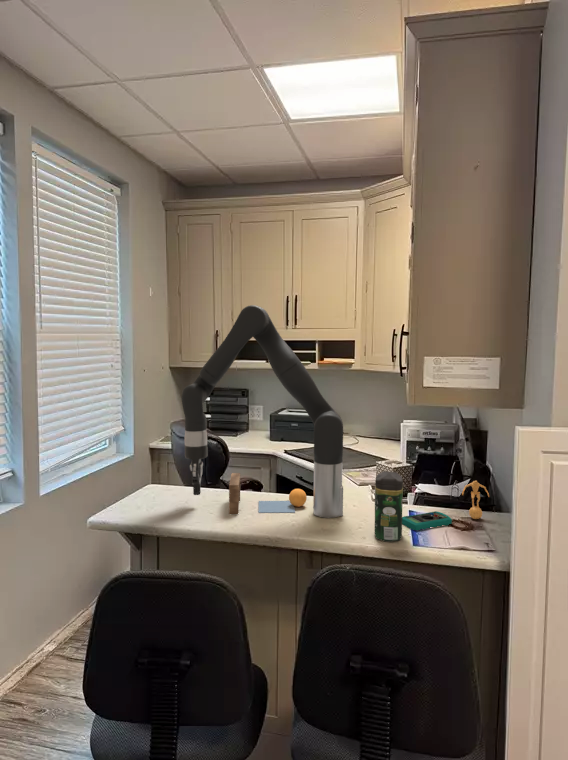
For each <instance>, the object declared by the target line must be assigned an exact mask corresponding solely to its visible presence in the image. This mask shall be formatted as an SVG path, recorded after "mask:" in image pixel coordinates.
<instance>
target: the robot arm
mask: <svg viewBox="0 0 568 760" xmlns="http://www.w3.org/2000/svg"><path fill="white" fill-rule="evenodd" d="M252 338H253V339H254V340H255V341H256V342H257V344H259V346H260V347H261V349H262V350H263V353H264V354H265V356H266V358H267V360H268V364H269V365H270V367H271V369H272V371H273V372H274V374H275V376H276V377H277V379H278V380H279V382H280V383H281V385H282V386H283V387H284V389H285V390H286V391H287V392H288V394H290V395H291V396H292V398H293V399H294V400H296V401H297V403H299V405H301V407H303V408H302V409H303V410H305V412H306V414H307V415H308V417H309V418H310V421H311V422H312V424H313V425H314V426H313V504H312V505H313V507H312V508H313V515H315V516H316V517H320V518H329V519H333V518H338V517H343V516H344V486H343V456H344V454H343V453H344V423H343V422H344V421H343V419H342V417H341V416H340V415H339V414H338V413H337V412H336V411H335V409H334V408H332V406H331V405H330V404H329V402H328V401H327V400H326V399H325V398H324V397H323V395H322V393H321V392H320V390H319V388H318V386H317V384H316V382H315V381H314V379H313V378H312V376H311V374H310V373H309V371H308V370H307V369H306V367H305V365H304V364H303V362H302V361H301V360H300V359H299V357H298V356H297V354H295V352H294V351H293V349H292V348H291V347H290V346H289V345H288V344H287V342H286V341H285V340H284V339H283V338H282V336H281V335H280V333H279V332H278V330H277V328H276V327H275V325H274V322H273V321H272V319H271V317H270V316H269V314H268V312H267V311H266V310H265V308H263V307H262V306H258V305H253V304H251V305H248V306H245V307H243V308H242V309H241V311H240V313H239V314H238V315H237V319H236V320H235V322H234V324H233V325H232V328H231V329H230V331H229V332H228V334H227V335H226V337H225V339H224V340H223V341H222V342H221V344H220V345H219V346H218V347H217V349H216V350H215V351H214V352H213V354H211V356H210V357H209V359H207V361H206V362H205V364H204V365H203V367H202V368H201V369H200V371H199V375H198V377H197V378H196V379H195V380H194V382H193V383H192V384H188V385H186V386H185V387H184V388H183V390H182V391H181V392H182V393H181V405H182V411H183V414H184V457H185V459H187V460H191V462H190V464H189V470H190V471H189V473H190V480H191V485H192V489H193V491H192V493H193V496H200V495H201V482H202V475H203V468H204V467H203V466H204V462H203V461H202V459H206V458H207V457H208V433H207V415H206V413H204V406H203V403H205V401H207V399H208V398H209V397H210V395H211V394H212V392H213V390H214V388H216V385H217V384H218V383H219V382H220V380H221V379H222V378H223V377H224V376H225V375H226V373H227V372H228V370H229V369H230V368H231V366H232V365H233V364H234V361H235V360H236V358H237V356H238V354H239V353H240V352H241V351H242V349H243V348H244V347H245V345H246V344H247V343H248V342H249V341H250V340H251V339H252Z"/></svg>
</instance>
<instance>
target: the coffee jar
mask: <svg viewBox="0 0 568 760" xmlns="http://www.w3.org/2000/svg"><path fill="white" fill-rule="evenodd" d="M374 484H375V485H374V536H375V539H377V540H380V541H383V542H389V543H392V542H398V541H400V540H401V539H402V537H403V524H402V517H403V504H404V503H403V499H404V498H403V494H404V493H403V492H404V490H403V489H404V479H403V477H402V476H401V475H400V474H399V473H398V472H397V471H386V470H385V471H382V472H380V473H378V474H377V475H376V477H375V482H374Z"/></svg>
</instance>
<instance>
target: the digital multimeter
mask: <svg viewBox="0 0 568 760" xmlns="http://www.w3.org/2000/svg"><path fill="white" fill-rule="evenodd" d="M452 522H453V519H452V518H451V517H450V516H449V515H447V514H445V513H443V512H441V511H429V512H424V513H419V514H412V515H411V514H410V515H404V516H402V526H405V527H406V528H408V529H410V530H413V531H414V530H420V529H424V530H427V529H426V528H429V529H431V528H430V527H434V528H438V527H437V526H440V527H443V526H442V525H446V526H450V525H449V524H452ZM420 531H421V530H420Z"/></svg>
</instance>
